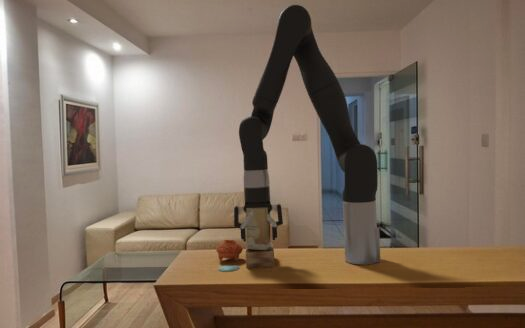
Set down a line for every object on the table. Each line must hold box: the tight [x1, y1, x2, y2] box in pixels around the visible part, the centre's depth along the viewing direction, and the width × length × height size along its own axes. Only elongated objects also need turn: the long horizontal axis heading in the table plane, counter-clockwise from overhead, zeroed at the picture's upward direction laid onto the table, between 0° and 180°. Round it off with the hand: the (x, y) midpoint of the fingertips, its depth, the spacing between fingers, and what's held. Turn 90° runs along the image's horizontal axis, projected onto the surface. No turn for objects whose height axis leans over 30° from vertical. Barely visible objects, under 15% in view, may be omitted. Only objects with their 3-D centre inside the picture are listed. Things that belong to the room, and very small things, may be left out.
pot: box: [215, 239, 243, 262], centre depth 117 cm, size 8×8×7 cm
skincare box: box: [245, 207, 272, 250], centre depth 113 cm, size 6×4×12 cm
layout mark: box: [217, 264, 240, 273], centre depth 108 cm, size 6×6×1 cm
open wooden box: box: [245, 243, 276, 269], centre depth 113 cm, size 8×10×4 cm
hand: (259, 240), depth 113 cm, fingers open, 8 cm apart
